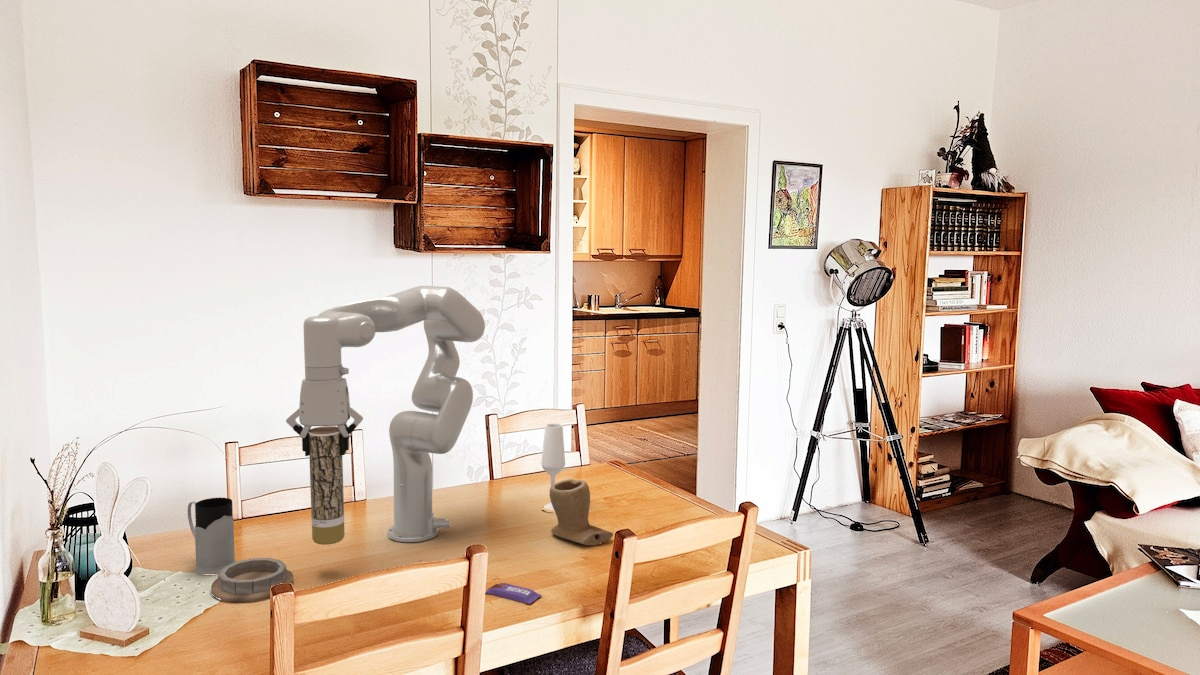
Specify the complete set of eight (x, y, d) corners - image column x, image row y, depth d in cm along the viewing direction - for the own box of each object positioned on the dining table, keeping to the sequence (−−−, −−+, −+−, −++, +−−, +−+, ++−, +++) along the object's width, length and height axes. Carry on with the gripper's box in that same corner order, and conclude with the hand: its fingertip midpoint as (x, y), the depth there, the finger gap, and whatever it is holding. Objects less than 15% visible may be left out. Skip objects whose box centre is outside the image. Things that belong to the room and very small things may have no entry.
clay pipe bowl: (539, 537, 205) (540, 479, 203) (573, 526, 213) (574, 471, 211) (580, 554, 194) (581, 493, 192) (614, 542, 202) (616, 484, 201)
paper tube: (334, 547, 174) (331, 434, 171) (306, 544, 176) (302, 432, 172) (350, 535, 181) (347, 427, 178) (322, 533, 182) (319, 425, 179)
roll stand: (300, 570, 180) (300, 554, 180) (283, 601, 165) (283, 583, 164) (225, 572, 178) (224, 556, 177) (200, 604, 162) (199, 586, 162)
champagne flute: (568, 508, 228) (570, 425, 225) (555, 514, 222) (556, 429, 219) (549, 503, 231) (551, 421, 228) (535, 509, 225) (537, 425, 223)
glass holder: (208, 578, 175) (206, 511, 173) (171, 563, 182) (169, 499, 180) (245, 565, 182) (243, 501, 180) (208, 551, 189) (206, 490, 188)
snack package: (542, 590, 170) (529, 599, 165) (542, 599, 170) (529, 608, 166) (496, 579, 175) (483, 587, 170) (496, 587, 175) (483, 596, 171)
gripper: (367, 370, 178) (369, 448, 181) (285, 370, 176) (288, 450, 178) (362, 376, 171) (364, 457, 173) (277, 377, 168) (280, 459, 171)
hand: (325, 453), depth 176 cm, fingers closed on paper tube, 6 cm apart
